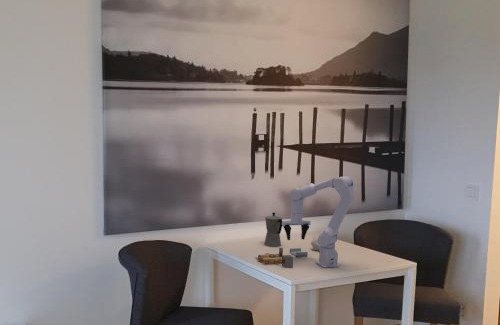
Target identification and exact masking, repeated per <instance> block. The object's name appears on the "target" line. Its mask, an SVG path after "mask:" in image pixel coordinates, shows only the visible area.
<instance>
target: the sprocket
mask: <svg viewBox="0 0 500 325" xmlns="http://www.w3.org/2000/svg"><path fill="white" fill-rule="evenodd" d="M278 249H279V250H278V253H265V254H257V257H258V260H257V261H258V262H259V261H263V262H264V263H275V264H279V263H280V262H282V255H284V253H283V252H284V248H283V247H279V248H278Z"/></svg>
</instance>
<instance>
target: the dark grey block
mask: <svg viewBox="0 0 500 325" xmlns="http://www.w3.org/2000/svg"><path fill="white" fill-rule="evenodd" d="M281 266H282V267H283V268H285V269H288V268H289V269H290V268H294V256H293V255H292V254H291V255H290V254H287V255H285V254H283V255H282V264H281Z"/></svg>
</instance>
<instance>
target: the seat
mask: <svg viewBox="0 0 500 325" xmlns="http://www.w3.org/2000/svg"><path fill="white" fill-rule="evenodd" d="M290 254H291V256H292V257H295V258H307V257H308V255H309V254H308V252H307V251H302V248H301V247H292V248H289V255H290Z"/></svg>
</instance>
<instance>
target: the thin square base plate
mask: <svg viewBox="0 0 500 325" xmlns="http://www.w3.org/2000/svg"><path fill="white" fill-rule="evenodd" d="M254 259H256V260H257V261H258V256H255V257H254ZM258 262H259V263H261V264H262V265H264V266H276V265H282V262H280V263H279V264H275V263H264V262H263V261H258Z"/></svg>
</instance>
